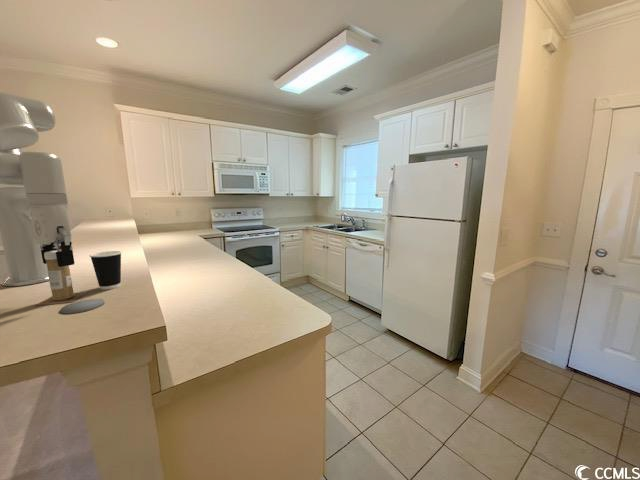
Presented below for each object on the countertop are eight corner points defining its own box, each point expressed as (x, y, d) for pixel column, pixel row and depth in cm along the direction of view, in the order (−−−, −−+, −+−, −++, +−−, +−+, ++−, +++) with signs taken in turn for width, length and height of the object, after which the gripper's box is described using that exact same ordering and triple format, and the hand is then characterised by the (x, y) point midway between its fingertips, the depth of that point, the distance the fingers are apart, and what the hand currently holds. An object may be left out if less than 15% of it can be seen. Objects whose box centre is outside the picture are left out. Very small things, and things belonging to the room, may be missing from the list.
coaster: (73, 302, 70) (73, 300, 70) (110, 299, 73) (110, 297, 73) (52, 315, 63) (52, 313, 62) (94, 311, 65) (94, 309, 65)
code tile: (55, 295, 76) (55, 294, 76) (88, 292, 78) (88, 291, 78) (35, 306, 68) (34, 305, 68) (72, 302, 71) (72, 301, 71)
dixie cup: (87, 290, 80) (82, 255, 78) (111, 282, 88) (106, 250, 86) (109, 291, 79) (105, 256, 77) (132, 283, 87) (128, 251, 85)
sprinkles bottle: (78, 295, 75) (71, 250, 73) (59, 301, 70) (51, 253, 68) (67, 294, 76) (60, 249, 74) (47, 300, 72) (39, 252, 70)
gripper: (15, 202, 70) (27, 264, 72) (40, 200, 62) (53, 270, 64) (53, 202, 76) (63, 259, 79) (80, 200, 68) (90, 263, 71)
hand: (58, 264), depth 71 cm, fingers open, 9 cm apart
